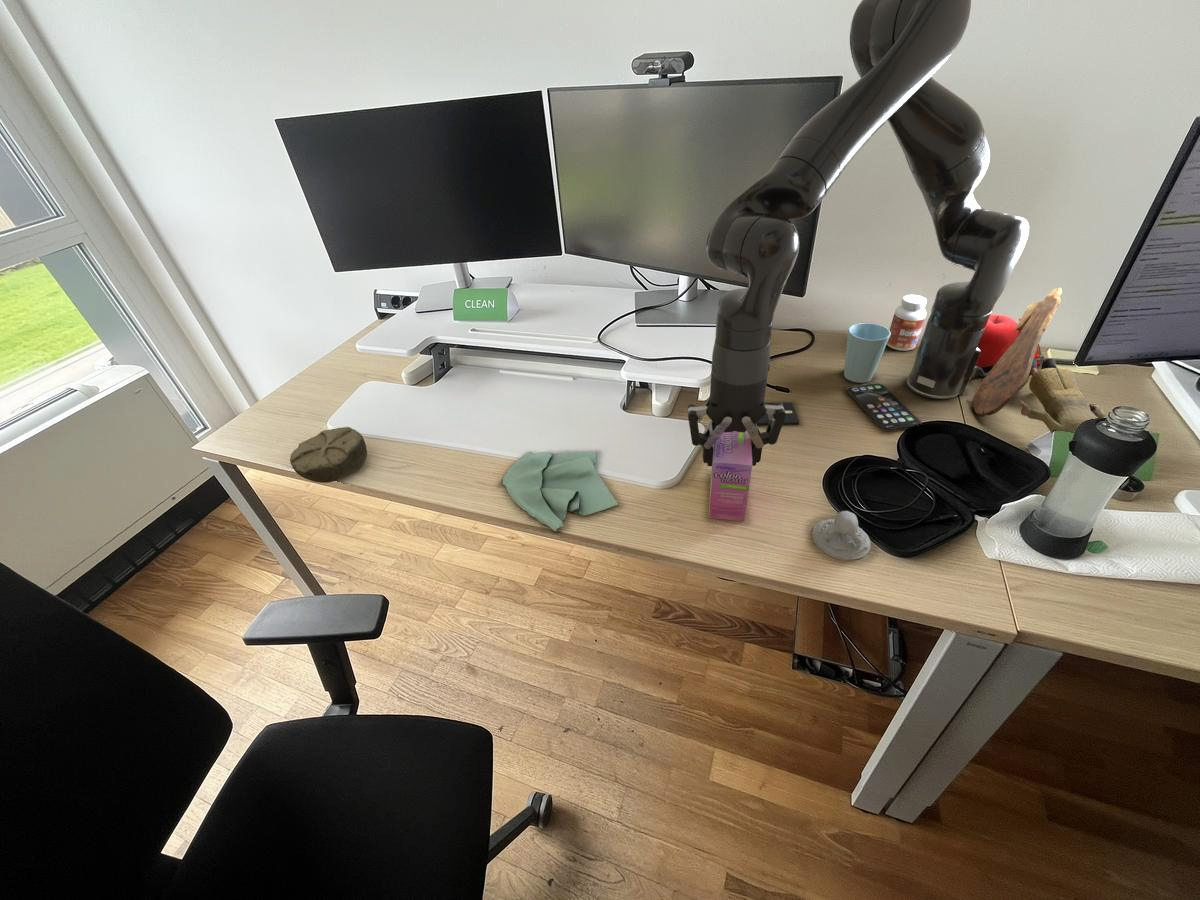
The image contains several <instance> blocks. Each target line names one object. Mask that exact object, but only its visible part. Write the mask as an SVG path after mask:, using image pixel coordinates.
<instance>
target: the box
mask: <svg viewBox="0 0 1200 900" xmlns="http://www.w3.org/2000/svg"><path fill="white" fill-rule="evenodd" d="M752 471H753V466H752V439H751V438H750V436H749V434H748V432H747V430H746V432H736V431H733V432H723V434H722V435H721V437H720V438H719V439H717V440H716V441H715V443H714V444H713V461H712V466H711V471H710V484H709V485H710V486H709V487H710V488H709V503H708V519H716V520H725V521H735V522H744V521H745V519H746V512H747V504H748V496H749V492H750V491H749V490H750V486H751V485H750V484H751V479H752V478H751V477H752Z"/></svg>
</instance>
